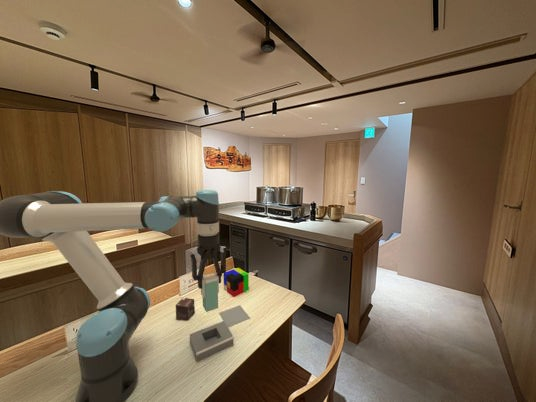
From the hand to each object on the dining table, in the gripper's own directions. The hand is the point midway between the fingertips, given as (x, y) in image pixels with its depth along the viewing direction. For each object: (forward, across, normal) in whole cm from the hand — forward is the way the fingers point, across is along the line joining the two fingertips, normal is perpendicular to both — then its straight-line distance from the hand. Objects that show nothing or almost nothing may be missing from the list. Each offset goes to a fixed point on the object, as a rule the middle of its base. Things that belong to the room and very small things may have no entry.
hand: (210, 293), depth 79 cm
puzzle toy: (+22, +24, +30) cm, 44 cm away
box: (+22, -5, +22) cm, 31 cm away
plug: (+5, 0, 0) cm, 5 cm away
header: (+22, 0, 0) cm, 22 cm away
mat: (+22, +14, +10) cm, 28 cm away
